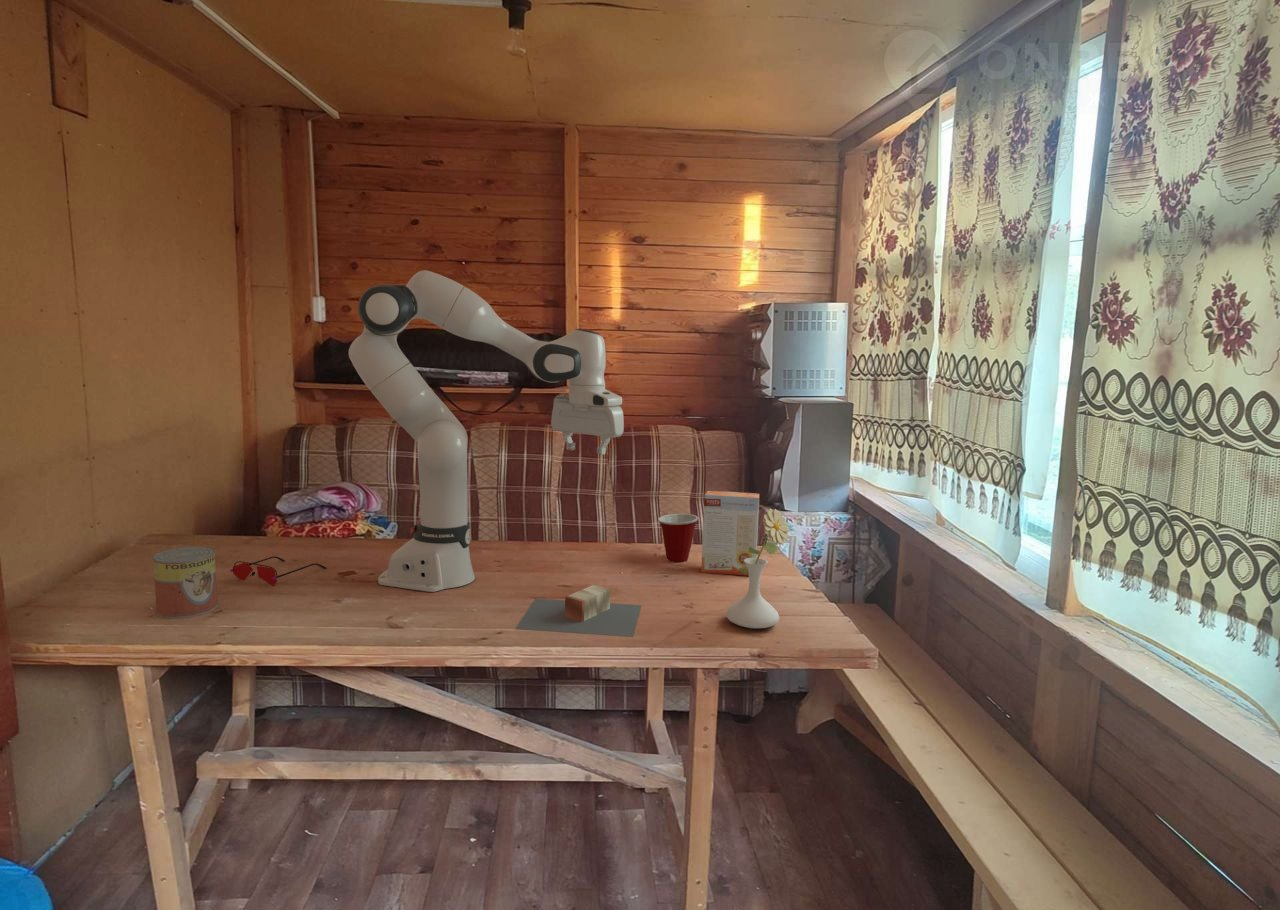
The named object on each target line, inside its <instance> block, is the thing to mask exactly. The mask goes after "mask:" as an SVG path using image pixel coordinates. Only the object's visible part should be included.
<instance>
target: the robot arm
mask: <svg viewBox="0 0 1280 910" xmlns="http://www.w3.org/2000/svg"><path fill="white" fill-rule="evenodd" d="M357 313H358V317H359V319H360V321H361V323H362V324H363V331H362V333H361V334H360V335H358V336H357V337H356V338H355V339H354V340H353V341H352V343H351V344H350V346H349V349H348V358H349V360H350V361H351V364H352V366H353V367H354V369H355V371H356V372H357V374H358V376H359V377H360V379H361V380H362V382H363V383H364V384H365V386H366V387H367V388H368V389H369V391H370V392H371V394H372V395H373V396H374V397H375V399H377V401H378V402H379V403H380V405H382V407H383V408H384V410H386V412H387V414H388V415H389V417H391V419H393V420H394V421H395V422H396V423H397V424H399V426H400V427H402V429H404V430H405V431H406V433H408V435H410V436H411V438H412V439H413V440H414V441H415V442H416V443H417V447H416V448H417V450H416V451H417V469H418V482H419V483H418V485H419V504H420V507H419V508H420V509H419V511H420V512H419V513H420V515H419V517H420V519H419V520H418V521H417V522H416V524H414V525H413V526H412V527H411V528H410V530H411V531H410V534H412V535H413V537H412V538H411V539H409V540H408V541H407V542H405V543H404V544H403V545H402V546H400V547H398V549H396V550H395V551H394V552H393V553H392V554H391V556H390V558H389V560H388V561H389V562H388V567H387V569H386V570H384V571H383V572H382V573H380V575H379V576H378V578H377V583H378V585H379V586H384V587H385V586H387V587H393V588H394V587H395V588H399V589H406V590H407V589H408V590H415V591H421V592H428V593H429V592H430V593H433V592H438V591H442V590H446V589H452V588H458V587H462V586H466V585H468V584H470V583H472V582H473V581H475V579H476V576H475V575H476V574H475V573H474V572H475V571H474V570H473V564H472V560H471V555H470V545H471V526H470V521H469V514H468V513H469V509H468V508H469V498H468V495H469V493H468V492H469V487H468V486H469V485H468V484H469V483H468V445H469V444H468V441H469V438H468V434H467V433H468V432H467V430H466V428H465V426H464V425H463V424H462V423H461V421H460V420H458V418H457V417H456V416H455V414H453V412H452V411H451V410H450V409H449V408H448V407H447V405H446V404H445V403H444V402H443V401H442V400H441V398H439V396H438V395H437V394H436V393H435V392H434V390H433V389H432V387H430V385H428V383H427V382H426V380H425V379H424V378H423V377H422V376H421V374H420V373H419V372H418V370H417V369H416V367H414V366H413V364H412V362H411V361H410V360H409V359H408V358H407V357H406V355H405V354H404V352H403V351H402V350H401V348H400V346H399V344H398V341H397V340H398V339H399V337H400V336H401V335H402V333H403V332H404V331H405V330H406V328H407V327H408V325H409V324H410V322H411V321H412V320H415V319H422V320H425V321H428V322H430V323H431V324H434V325H436V326H437V327H438V328H440V329H442V330H444V331H446V332H449V333H450V334H452V335H455V336H457V337H460V338H463V339H465V340H469V341H475V342H482V343H485V344H488V345H492V346H494V347H496V348H498V349H500V350H501V351H503V352H505V353H507V354H509V355H510V356H513V357H514V358H515V359H517V360H519V361H521V362H522V363H523V364H524V365H525V366H526V368H527V370H529V372H530V373H531V374H532V375H533V376H534V377H535V378H536V379H539V380H540V381H543V382H546V383H550V384H551V383H559V382H561V381H566V380H567V381H568V382H569V384H568V394H562V393H559V394H557V395H556V396H555V397H554V398H553V407H552V411H551V412H552V413H551V420H550V421H551V422H550V426H551V428H552V430H553V431H558V432H562V438H563V439H564V441H565V444H566V450H567V451H575V450H576V442H574V441H573V439H572V437H573V434H580V435H590V436H597V437H600V441H601V443H600V445H599V446H597V447H596V454H597V455H606V452H607V446H608V445H609V443H610V441H611V438H613V439H614V438H620V437H622V435H623V434H624V430H625V429H624V428H625V424H624V422H625V421H624V411H623V408H622V407H621V405H623V397H622V396H620V395H618V394H617V393H614V392H613V391H610V390H608V389H606V381H605V370H606V364H607V363H606V362H607V357H606V344H605V343H606V342H605V340H604V337H603V336H602V335H601V334H600V333H599V332H596V331H593V330H588V329H583V328H575V329H573V330H572V331H571V332H569V333H567V334H566V335H564V336H562V337H559V338H557V339H554V340H539V339H536V338H533V337H531V336H529V335H527V334H526V333H524V332H523V331H520V330H519V329H517V328H515V327H514V326H512V325H510V324H508V323H507V322H506V321H504V320H503V319H502V318H501V317H500V316H499V315H498V314H497V313H496V312H495V310H494V308H493V307H492V306H491V305H490V304H489V303H488V302H487V301H486V300H485V299H484V298H482V297H481V296H480V295H478V294H477V293H476V292H474V291H473V290H471V289H470V288H468V287H467V286H464V285H463V284H461V283H459V282H457V281H456V280H454V279H451V278H448V277H446V276H444V275H442V274H439V273H438V272H437V273H436V272H433V271H431V270H428V269H427V270H425V269H424V270H421V271H418V272H417V273H415V274H414V275H413V276H412V277H411V278H410V279H409V280H408V281H407V284H406V285H404V284H377V285H373V286H371V287H369V288H367V289H366V290H365V291H364V292H363V293H362V294H361V295H360V298H359V301H358V303H357Z"/></svg>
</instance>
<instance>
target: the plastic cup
mask: <svg viewBox="0 0 1280 910" xmlns="http://www.w3.org/2000/svg"><path fill="white" fill-rule="evenodd" d="M657 519H658V522H659V523H660V527H661V531H662V532H661V533H662V538H663V544H664V549H665V558H666V560H667V559H668V560H670V561H669V562H671V561H674V562H673V563H685V562H684V561H686V562H687V561H688V559H689V557H690V556H689V555H690V551H691V547H692V543H693V537H694V531H695V529H696V524H697V521H698V520H699V517H698V516H697V515H695V514H691V513H671V514H665V515H662V516H659V517H658V518H657ZM668 560H667V561H668Z"/></svg>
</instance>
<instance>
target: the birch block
mask: <svg viewBox="0 0 1280 910" xmlns="http://www.w3.org/2000/svg"><path fill="white" fill-rule="evenodd" d="M564 597H565V598H564V600H565V617H566V618H569V619H573V620H576V621H579V622H583V621H585V620H587V619H589V618H591V617H594V616H596V615H598V614H600V613H602V612H604V611H606V610H608V609H610V603H611V588H607V587H604V586H600V585H597V584H592V585H590V586H588V587H586V588H583V589H581V590H578V591H576V592H574V593H572V594H569V595H567V596H564Z"/></svg>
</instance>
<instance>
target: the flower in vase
mask: <svg viewBox="0 0 1280 910" xmlns="http://www.w3.org/2000/svg"><path fill="white" fill-rule="evenodd" d="M781 515H782V514H781V513H780V511H779V510H777V509H776V508H774V509H772V508H769V509H768V510H766V513H764V515H763V518H762V521H763V527H764V533H765V538H764V541H763V545H762V547H761V548H760V550H758V549H757V550H755V549H753V548H751V547H749V552H751V553H754V554H757V556H756V558H747V559H744V562H745V564H746V566H747V568H748V572H749V576H748V590H747V593H746V595H744V596H743V597H741V598H740V599H738V600H736V601H735V602H734V603H732V604H731V605H730V606H729V607H728V608H727V610H726V612H725V616H726V617H727V619H728V621H730V622H731V623H733V624H735V625H736V626H739V627H744V628H748V629H765V628H770V627H773V626H775V625H776V624H777V623H778V622H779V621H780V615H779V613H778V611H777V610H776V609H775V607H774V606H772V605H771V604H770V603H769V602H768V601H767V600H766V599H764V598H763V596H762V595H761V590H760V584H761V578H762V577H761V576H762V573H763V571H764V569H765V567H767V566H766V565H767V564H768V563H769V562H768V560H766V559H763V558H760V557H761V555H762V552H763V550H765V551H766V552H767V553H768V554H771V555H772V554H775V553H776V552H778V551H779V547H778V545H779V546H781V545H782V546H783V545H784V544H785V542H787V541H789V539H788V538H790V534H789V533H790V531H791V530H790V527H788V526H789V525H788V523H787V522H786V517H785V516H781ZM768 539H769V540H770V541H767V540H768Z"/></svg>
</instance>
